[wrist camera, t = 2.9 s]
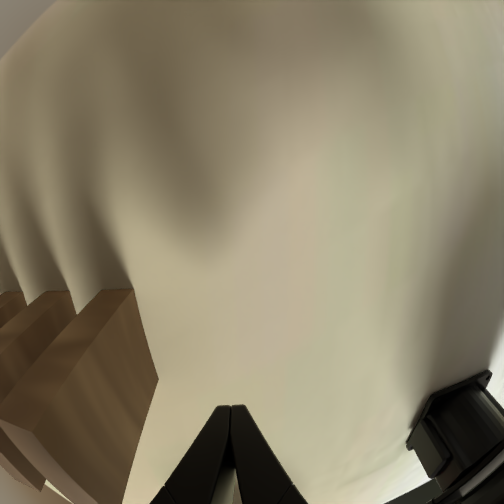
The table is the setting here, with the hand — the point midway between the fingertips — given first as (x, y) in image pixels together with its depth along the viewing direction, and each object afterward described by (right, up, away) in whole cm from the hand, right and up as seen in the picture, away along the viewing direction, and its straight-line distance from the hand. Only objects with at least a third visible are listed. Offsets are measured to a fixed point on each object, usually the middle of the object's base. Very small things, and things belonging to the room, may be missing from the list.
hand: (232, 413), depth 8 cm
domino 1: (-5, +1, +4) cm, 7 cm away
